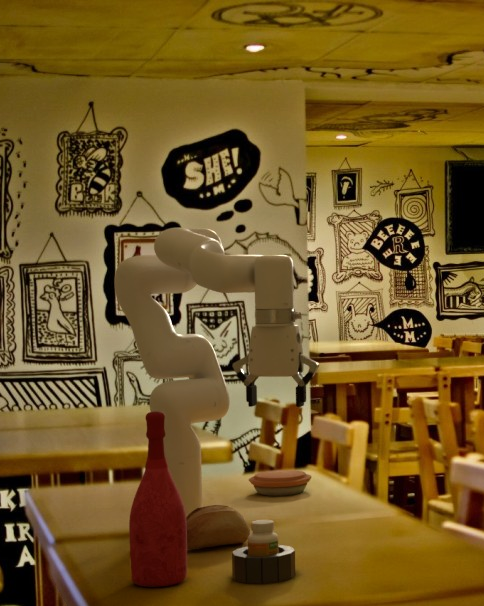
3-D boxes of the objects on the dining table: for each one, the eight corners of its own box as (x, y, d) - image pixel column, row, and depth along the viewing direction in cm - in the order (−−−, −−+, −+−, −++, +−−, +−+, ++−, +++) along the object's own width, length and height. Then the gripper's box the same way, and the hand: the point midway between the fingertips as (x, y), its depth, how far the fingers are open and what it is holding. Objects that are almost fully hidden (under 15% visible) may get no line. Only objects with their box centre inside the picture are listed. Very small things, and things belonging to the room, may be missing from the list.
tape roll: (224, 583, 216) (223, 557, 216) (245, 568, 227) (244, 544, 226) (284, 584, 214) (283, 558, 214) (302, 569, 225) (301, 545, 225)
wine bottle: (135, 576, 222) (131, 409, 222) (191, 574, 223) (186, 407, 222) (126, 590, 212) (121, 415, 212) (184, 587, 213) (180, 413, 213)
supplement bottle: (273, 580, 217) (271, 525, 217) (244, 579, 218) (242, 524, 218) (283, 573, 222) (281, 519, 222) (254, 572, 224) (253, 518, 223)
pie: (308, 497, 300) (307, 476, 300) (244, 498, 301) (243, 477, 300) (315, 486, 316) (314, 466, 316) (254, 487, 316) (254, 467, 316)
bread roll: (168, 548, 245) (167, 508, 245) (234, 537, 255) (233, 498, 254) (192, 556, 238) (191, 514, 238) (259, 544, 247) (258, 504, 247)
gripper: (322, 317, 243) (324, 404, 244) (239, 318, 247) (240, 403, 247) (311, 318, 236) (313, 408, 236) (225, 319, 239) (227, 408, 240)
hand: (276, 406), depth 242 cm, fingers open, 9 cm apart
